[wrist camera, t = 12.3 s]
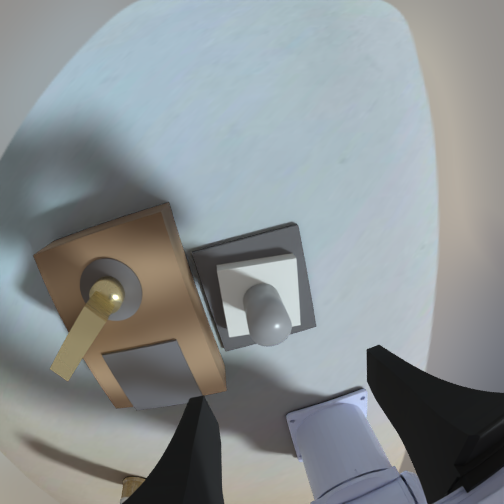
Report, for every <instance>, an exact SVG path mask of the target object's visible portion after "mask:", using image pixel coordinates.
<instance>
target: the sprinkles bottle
mask: <svg viewBox="0 0 504 504" xmlns="http://www.w3.org/2000/svg"><path fill="white" fill-rule="evenodd" d="M145 480H146V479H143V478H139V477H127V478H125V479H124V480H123V490H122V497H121V499H120V504H122V503H123V502H124V501H125V500H126V499H128V498H129V497H130V496H131V495H132V494H133V493H134V492H135V491H136V490H137V488H138V487H139V486H140V485H141V484H142V483H143V482H144V481H145Z"/></svg>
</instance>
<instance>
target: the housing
mask: <svg viewBox="0 0 504 504" xmlns="http://www.w3.org/2000/svg"><path fill="white" fill-rule="evenodd" d="M33 256H34V259H35V261H36V264H37V266H38V269H39V271H40V273H41V276H42V278H43V280H44V283H45V285H46V287H47V289H48V292H49V294H50V296H51V298H52V300H53V302H54V304H55V307H56V309H57V311H58V313H59V315H60V317H61V319H62V321H63V323H64V324H65V326H66V328H67V330H68V332H70V330H71V328H72V327H73V325H74V323H75V321H76V320H77V318H78V316H79V314H80V313H81V311H82V309H83V308H84V306H85V305H86V303H87V302H88V300H89V299H90V297H89V293H90V289H91V287H92V286H93V285H94V284H95V282H96V281H97V280H98V279H99V278H101V277H104V276H109V277H113V278H115V279H116V280H118V281H119V282H120V283H121V284H122V286H123V288H124V291H125V299H124V301H123V303H122V305H121V307H120V308H119V310H118V311H117V312H115V313H112V314H110V316H109V318H108V319H107V321H106V323H105V324H104V326H103V327H102V329H101V330H100V332H99V333H98V335H97V336H96V338H95V339H94V341H93V343H92V344H91V346H90V347H89V349H88V350H87V352H86V353H85V355H84V357H83V359H84V360H85V362H86V364H87V365H88V367H89V368H90V370H91V372H92V373H93V375H94V376H95V378H96V380H97V381H98V383H99V384H100V386H101V387H102V389H103V390H104V392H105V393H106V395H107V396H108V398H109V399H110V401H111V402H112V403H113V405H114V406H115V408H116V409H117V408H126V407H134V408H135V409H136V410H144V409H151V408H159V407H166V406H172V405H178V404H184V403H188V401H189V399H190V398H192V397H198V396H203V395H204V396H205V395H210V394H215V393H219V392H224V391H227V388H226V376H225V365H224V362H223V359H222V357H221V354H220V352H219V349H218V346H217V344H216V341H215V338H214V336H213V333H212V330H211V328H210V325H209V322H208V319H207V317H206V314H205V311H204V308H203V305H202V303H201V300H200V297H199V294H198V291H197V288H196V285H195V282H194V279H193V277H192V274H191V271H190V268H189V265H188V262H187V258H186V255H185V252H184V249H183V246H182V243H181V240H180V237H179V234H178V230H177V227H176V224H175V221H174V217H173V214H172V211H171V207H170V204H169V202H168V203H165V204H162V205H158V206H155V207H152V208H149V209H145V210H142V211H139V212H136V213H133V214H130V215H127V216H123V217H120V218H117V219H114V220H111V221H108V222H105V223H103V224H100V225H97V226H94V227H91V228H88V229H85V230H83V231H80V232H77V233H74V234H71V235H69V236H66V237H63V238H61V239H58V240H55V241H53V242H52V243H50V244H49V245H47V246H46V247H44V248H43V249H41V250H40V251H38V252H37V253H36V254H34V255H33Z"/></svg>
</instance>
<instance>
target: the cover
mask: <svg viewBox="0 0 504 504" xmlns="http://www.w3.org/2000/svg"><path fill="white" fill-rule="evenodd" d="M217 274H218V280H219V285H220V291H221V296H222V302H223V307H224V312H225V318H226V323H227V328H228V333H229V337H235V336H242V335H248V334H250V337H251V338H252V340H253V341H254V342H255V343H257V344H259V345H262V346H275V345H278V344H280V343H282V342H283V341H285V340H286V339H287V338H288V336H289V335H290V333H291V330H292V327H293V326H298V325H301V322H300V305H299V288H298V274H297V260H296V257H295V256H294V254H293V253H291V254H284V255H278V256H272V257H265V258H259V259H253V260H246V261H240V262H233V263H227V264H221V265H217Z"/></svg>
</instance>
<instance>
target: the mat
mask: <svg viewBox="0 0 504 504" xmlns="http://www.w3.org/2000/svg"><path fill="white" fill-rule="evenodd" d="M291 253H293V254H294V256H295V257H296V260H297V274H298V288H299V305H300V322H301V325H298V326H293V327H292V330H291V333H290V334H293V333H297V332H300V331H304V330H307V329H310V328H313V327H316V322H315V316H314V309H313V303H312V297H311V292H310V286H309V280H308V274H307V269H306V263H305V258H304V253H303V247H302V242H301V237H300V232H299V227H298V225H297V224H295V225H291V226H288V227H284V228H280V229H276V230H272V231H268V232H265V233H261V234H257V235H253V236H249V237H246V238H242V239H238V240H234V241H231V242H227V243H223V244H219V245H216V246H212V247H208V248H205V249H201V250H197V251H194V252H192V255H193V258H194V261H195V264H196V267H197V270H198V273H199V276H200V280H201V283H202V286H203V289H204V291H205V294H206V297H207V300H208V303H209V306H210V309H211V312H212V315H213V318H214V320H215V323H216V326H217V329H218V332H219V334H220V337H221V340H222V343H223V346H224V348H225V351H230V350H234V349H238V348H242V347H246V346H250V345H253V344H257V343H255V342H254V341H253V340H252V338H251V337H250V334H248V335H242V336H235V337H229V333H228V328H227V323H226V318H225V312H224V307H223V302H222V296H221V291H220V285H219V280H218V274H217V265H221V264H227V263H233V262H240V261H246V260H253V259H259V258H265V257H272V256H278V255H284V254H291Z"/></svg>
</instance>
